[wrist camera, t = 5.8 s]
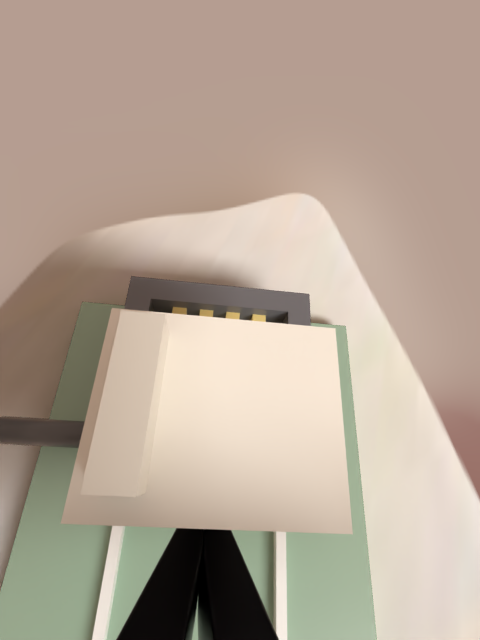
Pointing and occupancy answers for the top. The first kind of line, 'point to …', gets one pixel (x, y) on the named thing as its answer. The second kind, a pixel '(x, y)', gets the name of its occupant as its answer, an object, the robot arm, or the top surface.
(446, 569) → the top surface
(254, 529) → the plug
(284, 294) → the header
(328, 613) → the board
